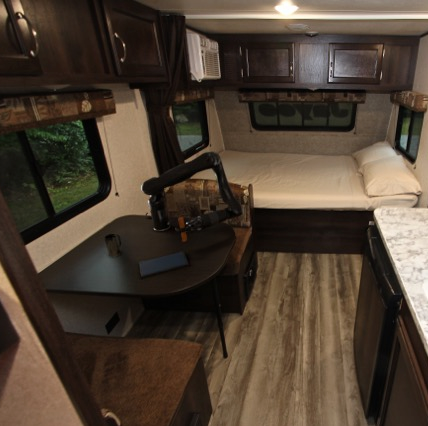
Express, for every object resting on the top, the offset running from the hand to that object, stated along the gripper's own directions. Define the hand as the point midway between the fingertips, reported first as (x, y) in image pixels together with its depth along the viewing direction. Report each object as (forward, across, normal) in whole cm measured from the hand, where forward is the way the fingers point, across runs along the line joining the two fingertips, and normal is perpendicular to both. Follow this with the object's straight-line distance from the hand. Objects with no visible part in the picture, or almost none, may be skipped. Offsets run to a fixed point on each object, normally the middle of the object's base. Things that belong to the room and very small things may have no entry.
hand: (177, 230), depth 147 cm
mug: (+23, -31, +18) cm, 42 cm away
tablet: (+9, -3, +18) cm, 20 cm away
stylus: (-3, 0, +8) cm, 9 cm away
